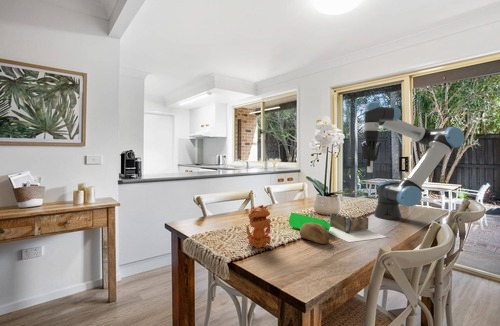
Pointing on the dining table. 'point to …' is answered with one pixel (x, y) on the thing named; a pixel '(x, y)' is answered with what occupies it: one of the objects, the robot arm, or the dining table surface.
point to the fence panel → (358, 223)
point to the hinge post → (347, 225)
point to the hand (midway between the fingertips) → (369, 172)
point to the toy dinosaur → (259, 227)
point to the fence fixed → (338, 221)
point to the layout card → (354, 235)
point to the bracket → (306, 221)
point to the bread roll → (314, 233)
